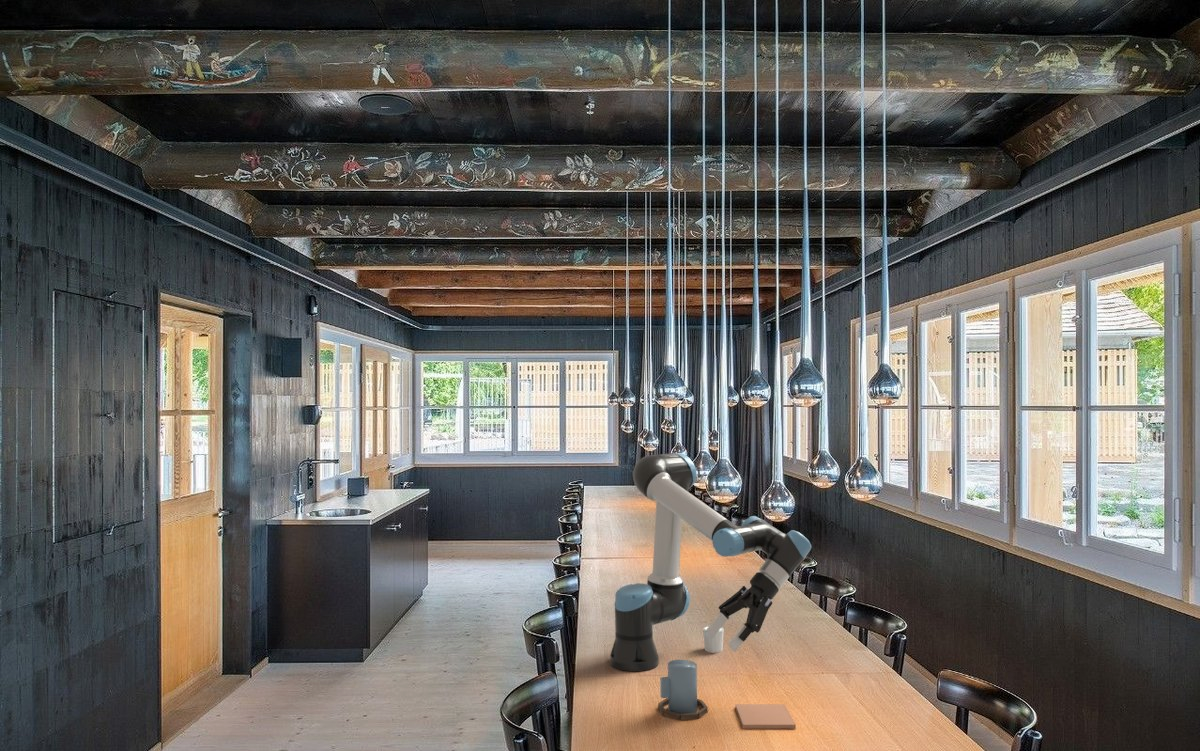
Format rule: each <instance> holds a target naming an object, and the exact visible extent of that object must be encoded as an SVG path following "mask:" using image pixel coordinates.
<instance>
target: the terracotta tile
mask: <svg viewBox="0 0 1200 751" xmlns="http://www.w3.org/2000/svg"><path fill="white" fill-rule="evenodd" d="M734 708H735V710H736V713H737V715H738V718H739V721H740V724H741V726H742V729H749V730H752V729H755V730H756V729H760V730H763V729H765V730H767V729H768V730H770V729H771V730H772V729H774V730H776V729H777V730H779V729H781V730H782V729H783V730H785V729H786V730H787V729H788V730H791V729H794V730H796V729H797V728H796V727H797V726H796V725H797V724H796V723H795V721H794V718H793V717H792V715H791V714H790V711H789V710H788V708H787V706H786V705H785V703H735V706H734Z"/></svg>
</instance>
